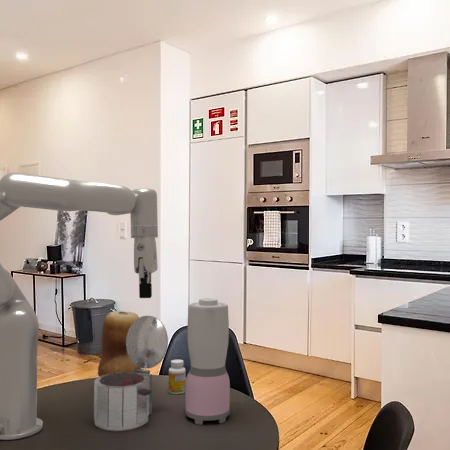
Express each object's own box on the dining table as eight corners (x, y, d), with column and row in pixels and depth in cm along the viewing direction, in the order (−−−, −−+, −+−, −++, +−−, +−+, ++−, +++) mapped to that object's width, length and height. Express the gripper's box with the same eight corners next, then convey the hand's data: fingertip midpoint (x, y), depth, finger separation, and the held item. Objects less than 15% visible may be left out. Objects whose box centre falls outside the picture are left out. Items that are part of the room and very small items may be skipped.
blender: (234, 423, 131) (235, 302, 132) (188, 427, 129) (189, 303, 129) (222, 403, 147) (222, 294, 147) (181, 406, 144) (181, 295, 145)
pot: (129, 437, 122) (129, 392, 122) (77, 422, 131) (78, 380, 132) (168, 417, 136) (169, 376, 136) (119, 404, 145) (120, 366, 145)
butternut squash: (142, 396, 152) (142, 314, 153) (96, 399, 149) (97, 316, 149) (139, 382, 166) (140, 307, 166) (97, 385, 163) (98, 308, 163)
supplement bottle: (166, 390, 159) (167, 359, 159) (183, 388, 160) (183, 358, 160) (170, 395, 153) (170, 363, 154) (187, 393, 155) (187, 362, 155)
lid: (167, 318, 138) (172, 318, 139) (128, 313, 146) (132, 313, 147) (161, 376, 135) (165, 376, 137) (121, 368, 143) (125, 368, 145)
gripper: (152, 233, 133) (153, 301, 133) (162, 232, 148) (163, 293, 148) (124, 233, 133) (125, 302, 133) (137, 232, 148) (138, 294, 148)
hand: (145, 297), depth 140 cm, fingers closed
